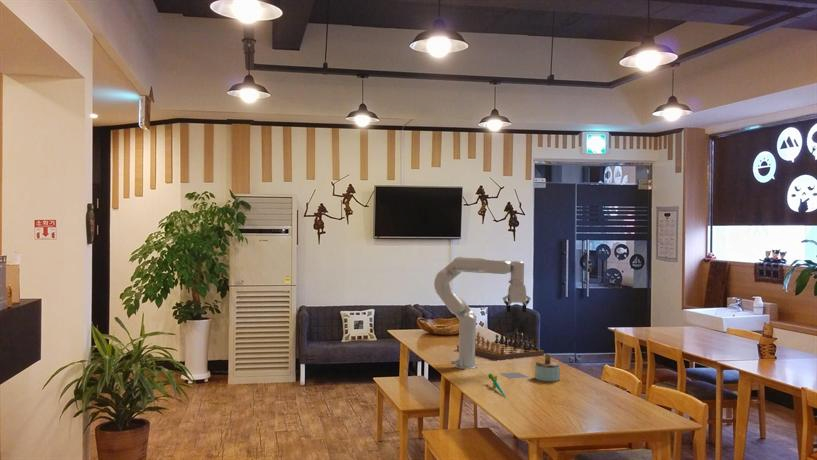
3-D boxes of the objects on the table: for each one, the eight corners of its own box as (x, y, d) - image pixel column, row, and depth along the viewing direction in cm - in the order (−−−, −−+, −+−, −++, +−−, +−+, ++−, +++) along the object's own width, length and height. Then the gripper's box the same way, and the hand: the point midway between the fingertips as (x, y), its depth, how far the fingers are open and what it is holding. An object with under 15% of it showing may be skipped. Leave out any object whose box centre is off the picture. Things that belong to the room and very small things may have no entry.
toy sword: (492, 369, 355) (508, 391, 326) (492, 380, 356) (507, 403, 327) (488, 369, 355) (503, 391, 325) (487, 380, 356) (502, 403, 326)
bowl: (542, 383, 359) (542, 368, 359) (530, 377, 372) (531, 363, 371) (564, 382, 363) (564, 367, 363) (551, 376, 375) (552, 362, 375)
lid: (543, 368, 359) (543, 356, 359) (531, 363, 371) (532, 352, 371) (563, 367, 363) (564, 355, 363) (552, 362, 375) (552, 351, 375)
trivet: (508, 379, 367) (508, 378, 367) (499, 374, 378) (499, 373, 378) (528, 378, 371) (528, 377, 371) (518, 373, 382) (518, 372, 382)
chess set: (497, 361, 419) (497, 337, 419) (457, 350, 452) (457, 328, 452) (543, 356, 441) (544, 333, 441) (502, 346, 474) (502, 325, 474)
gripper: (506, 283, 385) (505, 313, 385) (533, 283, 390) (532, 313, 390) (500, 282, 392) (499, 311, 392) (527, 282, 397) (526, 311, 397)
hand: (516, 312), depth 391 cm, fingers open, 9 cm apart
